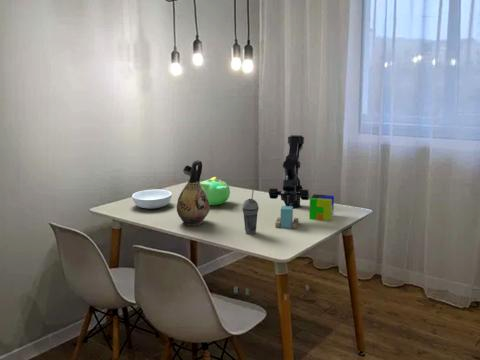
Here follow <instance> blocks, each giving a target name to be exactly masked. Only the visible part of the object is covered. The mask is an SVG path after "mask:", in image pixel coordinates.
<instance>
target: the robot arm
mask: <svg viewBox="0 0 480 360" xmlns="http://www.w3.org/2000/svg"><path fill="white" fill-rule="evenodd" d="M287 144H289V149H288V150H289V152H288V155H286V156H285V159H284V160H283V164H282V168H283V173H284V179H283V180H282V190H278V188H276V187H274V188H273V187H270V188H269V189H268V196H269V199H275V200H277V199H278V198H279V197H280V200H281V201H283V203H284V206H293V209H296V208H297V209H298V208H302V205H301V201H310V199H309V198H310V191H309V190H308V189H307V188H306V189H304V187H303V186H302V184H301V180H300V178H299V169H300V168H301V165H302V164H301V162H300V152H301V151H302V150H303V147H304V145H305V137H304V136H303V135H299V134H298V135H297V134H291V135H290V136H288V137H287Z"/></svg>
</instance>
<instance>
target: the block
mask: <svg viewBox="0 0 480 360" xmlns="http://www.w3.org/2000/svg"><path fill="white" fill-rule="evenodd" d="M293 210H294V208H293V206H285V205H281V208H280V217H281V226H280V229H293V228H292V223H293V220H294V218H293V216H294V215H293V213H294V211H293Z"/></svg>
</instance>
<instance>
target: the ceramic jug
mask: <svg viewBox="0 0 480 360" xmlns="http://www.w3.org/2000/svg"><path fill="white" fill-rule="evenodd" d="M202 170H203V162H202V161H201V160H199V159H198V160H194V161H193V162H192V164H191V166H190V165H185V166H184V167H183V173H184V175H187V176H189V180H188V181H187V183H186V185H185V186H184V188H183V189H182V190H181V192H180V193H179V196H178V198H177V203H176V212H177V216H178V217H179V219H180V220H181V221H182V224H183V225H184V226H186V227H187V226H188V227H197V226H199V225H202V224H203V222H204V220H205V219H206V217H207V216H208V214H209V212H210V205H209V200H208V197H207V195H206V193H205V191H204V190H203V188H202V187H201V185H200V183H201V180H200V179H201V176H202Z"/></svg>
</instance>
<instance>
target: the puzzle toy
mask: <svg viewBox="0 0 480 360" xmlns="http://www.w3.org/2000/svg"><path fill="white" fill-rule="evenodd" d="M334 202H335V196H334V195H327V194H316V193H315V194H313V195H312V196H311V197H310V199H309V220H313V219H318V220H317V221H324V220H330V221H332V219H331V218H333V217H334V208H335V207H334V205H335V203H334ZM332 216H333V217H332Z"/></svg>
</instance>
